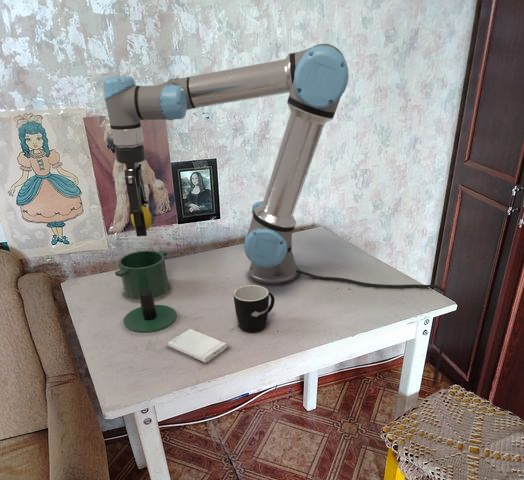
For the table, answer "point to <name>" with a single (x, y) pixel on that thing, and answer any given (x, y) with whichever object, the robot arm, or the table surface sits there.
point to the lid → (149, 315)
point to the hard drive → (198, 345)
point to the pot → (143, 273)
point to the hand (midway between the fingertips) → (143, 231)
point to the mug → (252, 307)
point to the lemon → (146, 216)
